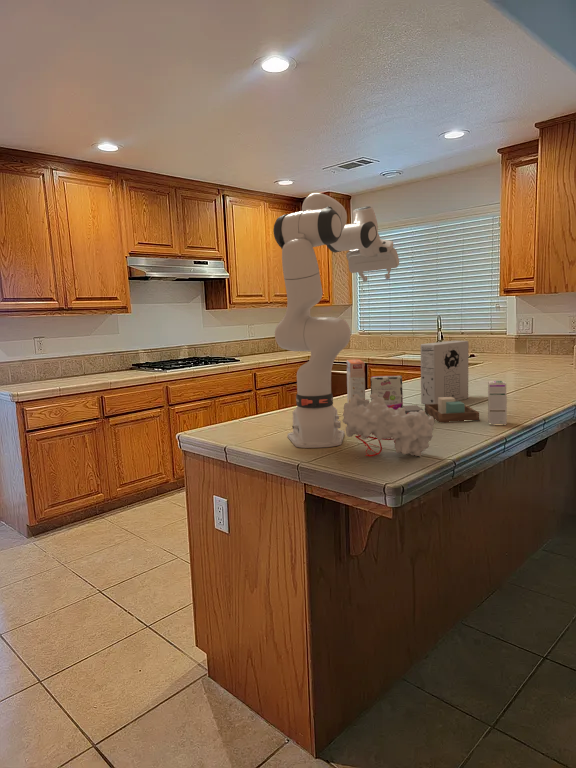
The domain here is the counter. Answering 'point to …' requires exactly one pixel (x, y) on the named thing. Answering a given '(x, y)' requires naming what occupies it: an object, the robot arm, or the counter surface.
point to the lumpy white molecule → (388, 424)
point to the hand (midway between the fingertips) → (376, 279)
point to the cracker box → (355, 379)
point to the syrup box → (497, 402)
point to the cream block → (444, 403)
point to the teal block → (455, 407)
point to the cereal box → (444, 371)
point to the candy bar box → (388, 390)
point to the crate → (451, 414)
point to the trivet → (412, 408)
